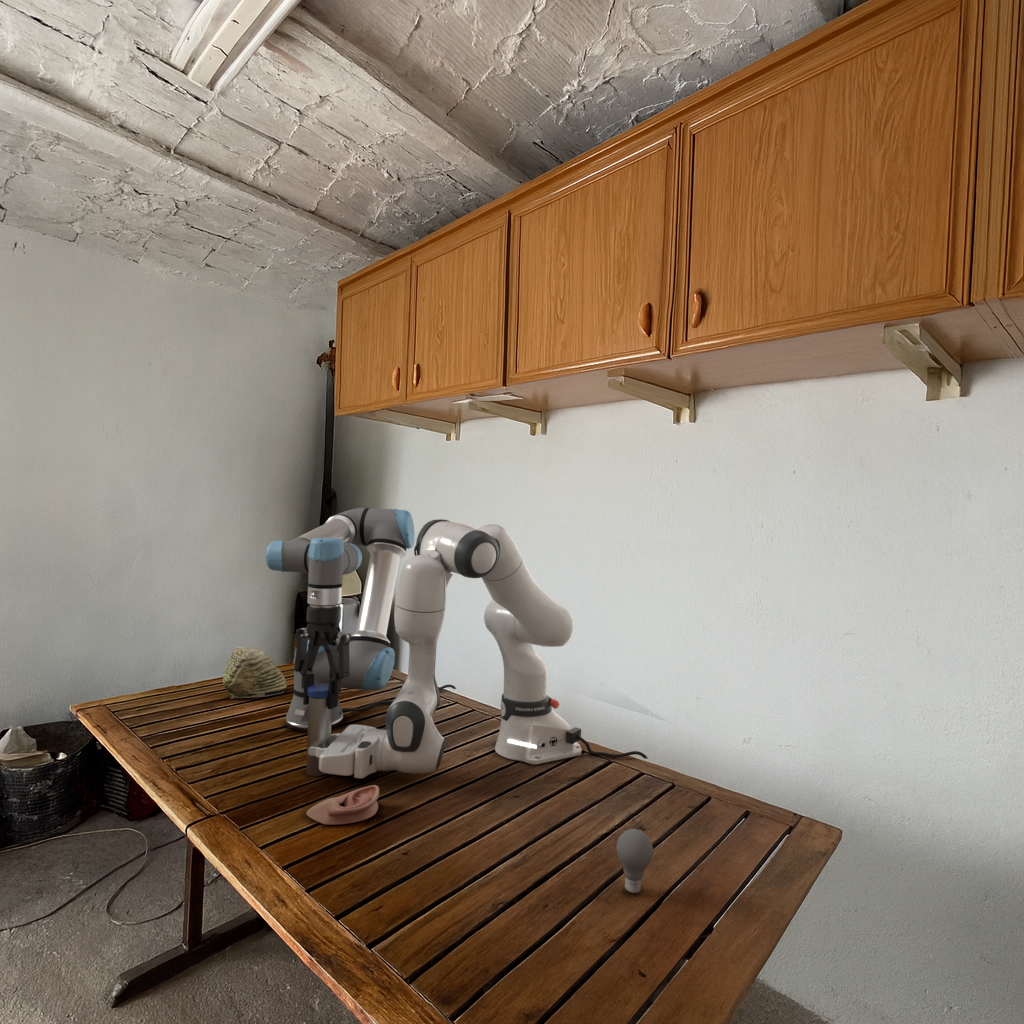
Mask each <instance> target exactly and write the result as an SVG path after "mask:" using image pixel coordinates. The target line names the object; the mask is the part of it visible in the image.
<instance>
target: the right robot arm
mask: <svg viewBox="0 0 1024 1024" xmlns="http://www.w3.org/2000/svg"><path fill="white" fill-rule="evenodd" d="M413 554H414V555H413V556H410V557H409V558H408V559H406V560H405V562H404V563H403V566H402V569H401V572H400V574H399V579H398V583H397V586H396V587H397V588H396V593H395V601H394V613H393V614H394V615H393V616H394V620H393V621H394V629H395V633H396V634H397V636H398V637H399V638H401V640H402V641H404V642H406V643H408V646H409V649H408V650H409V651H408V666H407V667H408V668H407V669H408V670H407V676H406V679H405V681H404V682H403V684H402V686H401V687H400V689H399V691H398V693H397V694H396V696H395V698H394V699H393V700H392V701H393V702H392V704H389V707H388V709H387V711H386V714H385V719H384V721H385V722H384V723H385V729H383V728H382V729H380V728H377V727H373V726H371V725H364V724H358V723H357V724H356V723H355V724H354V723H353V724H349V725H348V726H347V727H346V728H345V729H344V730H343V731H342V732H338V733H331V744H330V746H329V747H328V748H319V746H316V745H315V746H314V745H312V746H311V747H310V748H309V749H308V754H309V755H310V756H316V757H318V758H319V770H320V771H322V772H323V773H327V774H329V775H335V776H345V777H346V776H353V777H354V778H355V779H364V778H366V777H368V776H369V775H372V774H374V773H377V772H388V771H389V772H390V771H396V772H398V773H399V772H400V773H402V774H418V775H419V774H430V773H434V772H436V771H437V770H438V769H439V768H440V765H441V763H442V761H443V757H444V753H445V748H446V739H445V738H444V737H443V735H442V734H441V733H440V732H439V730H438V729H437V726H436V724H435V722H434V718H433V716H434V714H435V713H436V711H437V710H438V709H439V706H440V703H441V692H440V691H439V689H438V688H439V686H438V683H437V680H436V661H437V660H436V659H437V658H436V657H437V646H438V641H439V638H440V635H441V632H442V628H443V624H444V618H445V613H446V606H447V588H448V584H449V582H450V580H451V578H452V577H453V575H454V574H457V575H461V576H462V577H464V578H467V579H482V582H483V583H484V585H485V587H486V589H487V591H488V593H489V595H490V598H491V600H490V601H489V602H488V604H487V605H486V607H485V609H484V614H483V621H484V625H485V627H486V629H487V630H488V632H489V633H490V634H491V635H492V636H493V638H494V640H495V642H496V644H497V646H498V650H499V652H500V655H501V658H502V663H503V693H502V694H501V701H500V717H501V719H500V725H499V731H498V735H497V739H496V742H495V745H494V751H495V752H496V754H497V755H500V756H501V757H503V758H506V759H509V760H513V761H519V762H524V763H527V764H530V765H540V764H545V763H550V762H554V761H559V760H564V759H569V758H573V757H577V756H581V755H582V754H583V753H582V751H583V749H582V747H581V745H580V743H579V741H580V742H581V743H582V744H583V745H585V747H586V750H587V752H588V753H589V754H590V755H593V756H601V757H602V756H604V757H608V758H613V759H614V758H616V759H617V758H625V757H629V756H633V755H634V756H635V755H638V756H640V757H642V758H643V759H644V760H645V759H646V760H647V759H648V756H647V755H646V754H645V753H643V752H641V751H638V750H633V751H632V750H631V751H627V752H622V753H616V754H615V753H610V752H609V753H608V752H604V751H594V750H592V749H591V746H590V744H589V742H588V741H587V740H586V739H584V738H583V737H582V728H579V727H573V728H572V727H571V726H570V724H569V723H568V722H567V721H566V720H565V719H564V718H563V717H562V716H561V715H559V714H558V713H557V712H555V710H556V709H557V710H558V708H559V707H560V702H559V701H558V700H557V699H556V698H552V697H551V696H549V695H548V694H547V686H548V685H547V683H548V668H547V666H546V665H547V664H546V663H545V661H544V660H543V659H542V658H541V657H540V656H539V655H538V654H537V652H536V650H535V648H534V646H539V647H542V648H544V647H545V648H553V647H554V648H557V647H563V646H565V645H566V644H568V643H569V641H570V640H571V639H572V637H573V635H574V631H575V620H574V617H573V614H572V613H571V611H570V610H569V609H568V608H566V607H565V606H563V605H561V604H559V603H558V602H556V600H554V599H552V598H551V596H549V594H548V593H547V592H545V590H544V589H543V588H542V587H541V586H540V585H539V584H538V583H537V582H536V581H535V579H534V578H533V576H532V574H531V572H530V570H529V569H528V568H529V567H528V566H527V564H526V561H525V560H524V558H523V555H522V553H521V551H520V549H519V548H518V546H517V544H516V543H515V541H514V539H513V538H512V536H511V535H510V534H509V532H508V530H506V529H505V528H504V527H503V526H501V525H499V524H497V523H489V524H484V525H482V526H480V527H478V528H477V529H476V528H474V527H473V526H470V525H467V524H465V523H459V522H455V521H450V520H448V519H443V518H442V519H441V518H439V519H438V518H437V519H432V520H429V521H427V522H426V523H425V524H424V525H423V526H422V528H421V529H420V530H419V532H418V533H417V537H416V540H415V545H414V549H413ZM453 573H454V574H453ZM533 645H534V646H533ZM553 709H555V710H553ZM327 774H326V775H327Z"/></svg>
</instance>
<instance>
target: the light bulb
mask: <svg viewBox="0 0 1024 1024" xmlns="http://www.w3.org/2000/svg"><path fill="white" fill-rule="evenodd" d="M615 849H616V854H617V857H618V859H619V861H620V863H621V865H622V867H623V873H624V874H623V875H624V876H625V878H624V888H625V890H627V891H628V892H630V893H634V894H635V893H639V892H640V891H641V889H642V887H641V886H642V879H643V877H644V875H645V871H646V868H647V867H648V866H649V864H650V863H651V861H652V859H653V855H654V847H653V843H652V841H651V838H649V836H648V835H647V834H646V833H645V832H643V831H642V830H641V829H636V828H629V829H627V830H625V831H623V832H622V833H621V834H620V835H619V837H618V839H617V841H616V847H615Z"/></svg>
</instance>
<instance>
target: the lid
mask: <svg viewBox="0 0 1024 1024" xmlns="http://www.w3.org/2000/svg"><path fill="white" fill-rule="evenodd" d="M328 692H329V684H314V685H311V686H309V687H308V690H307V695H308V696H309V697H312V698H326V697H328Z"/></svg>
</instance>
